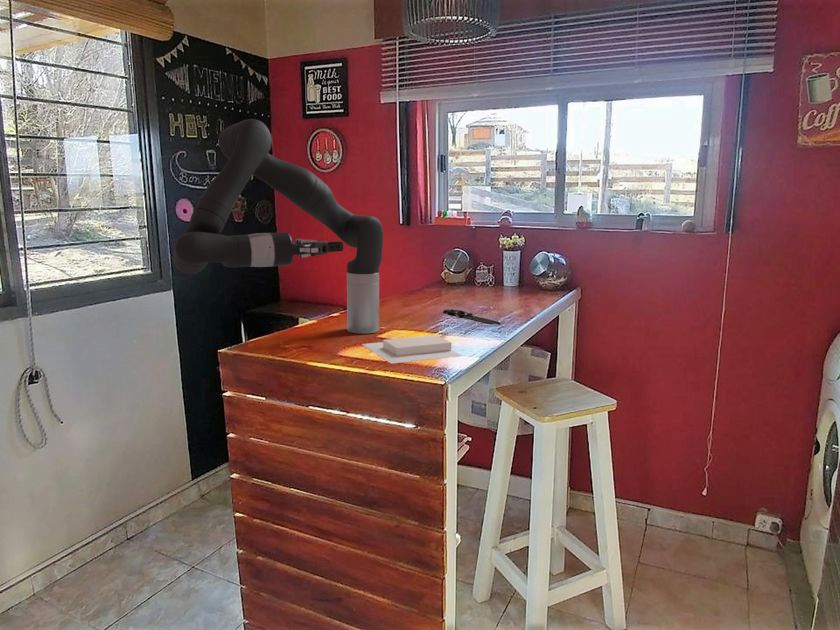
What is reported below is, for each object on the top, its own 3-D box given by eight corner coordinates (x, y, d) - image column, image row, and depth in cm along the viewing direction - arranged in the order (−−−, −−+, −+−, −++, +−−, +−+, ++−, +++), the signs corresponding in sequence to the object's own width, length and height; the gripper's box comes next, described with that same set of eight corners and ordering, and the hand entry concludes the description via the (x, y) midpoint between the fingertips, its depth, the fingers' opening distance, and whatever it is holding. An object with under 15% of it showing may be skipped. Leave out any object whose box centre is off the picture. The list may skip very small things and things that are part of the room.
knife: (504, 325, 189) (504, 321, 189) (488, 328, 186) (488, 323, 186) (455, 312, 210) (455, 308, 210) (440, 313, 206) (440, 309, 206)
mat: (361, 347, 158) (361, 344, 158) (426, 340, 166) (426, 338, 166) (390, 366, 140) (391, 363, 140) (462, 358, 148) (462, 355, 148)
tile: (382, 339, 154) (435, 335, 160) (382, 347, 154) (435, 342, 161) (396, 348, 146) (451, 342, 152) (396, 356, 146) (451, 350, 153)
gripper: (275, 235, 129) (351, 232, 137) (261, 231, 141) (332, 228, 148) (276, 269, 131) (352, 265, 138) (263, 263, 142) (333, 258, 150)
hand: (341, 246), depth 143 cm, fingers closed
